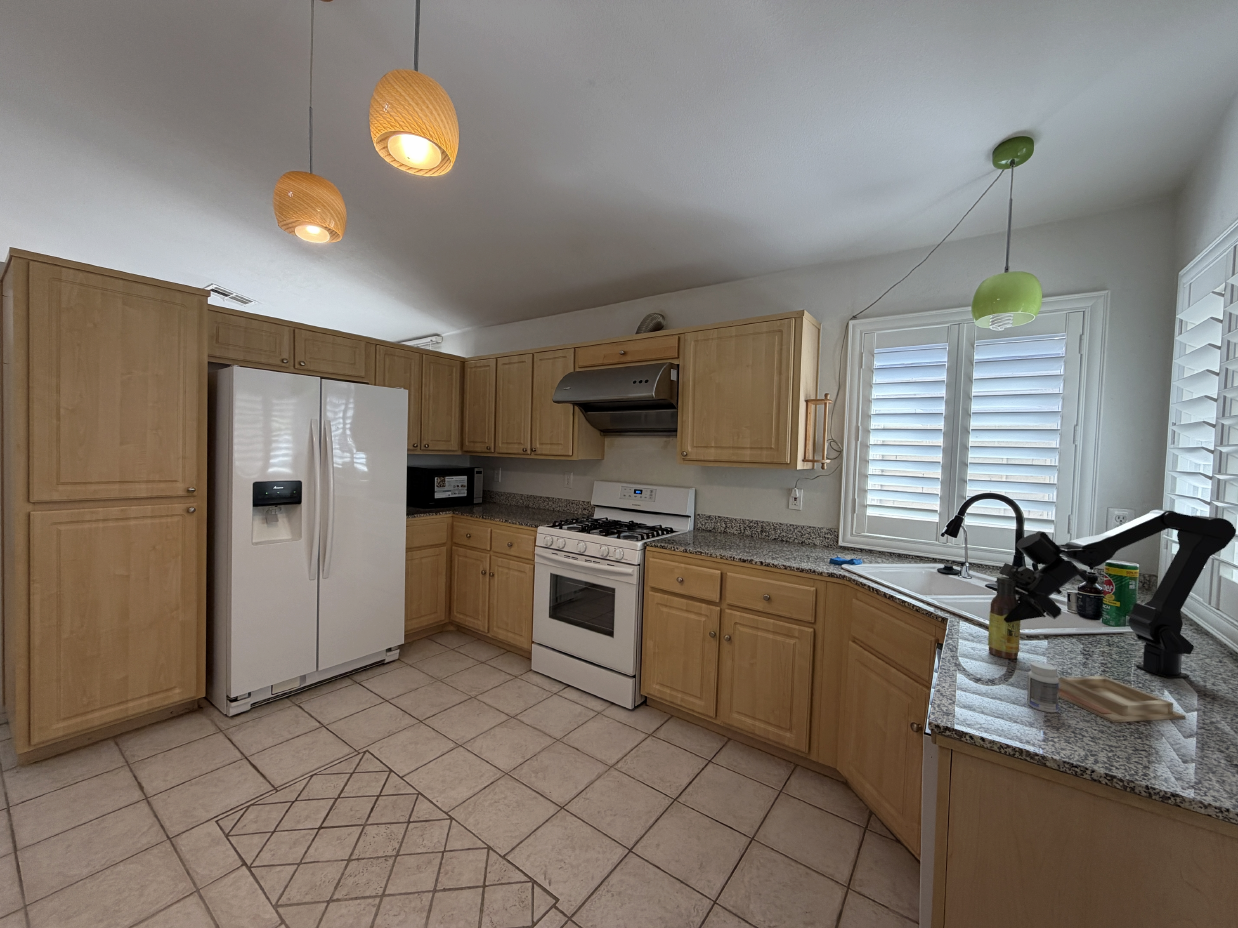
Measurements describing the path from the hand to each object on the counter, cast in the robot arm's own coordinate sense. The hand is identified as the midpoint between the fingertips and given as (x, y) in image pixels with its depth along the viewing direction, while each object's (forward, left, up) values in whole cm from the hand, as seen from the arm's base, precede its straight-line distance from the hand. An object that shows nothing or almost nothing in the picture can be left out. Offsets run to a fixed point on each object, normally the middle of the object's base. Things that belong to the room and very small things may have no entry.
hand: (998, 617), depth 124 cm
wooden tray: (-1, +25, -10) cm, 26 cm away
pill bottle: (+16, +25, -10) cm, 31 cm away
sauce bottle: (-1, +1, -10) cm, 10 cm away
